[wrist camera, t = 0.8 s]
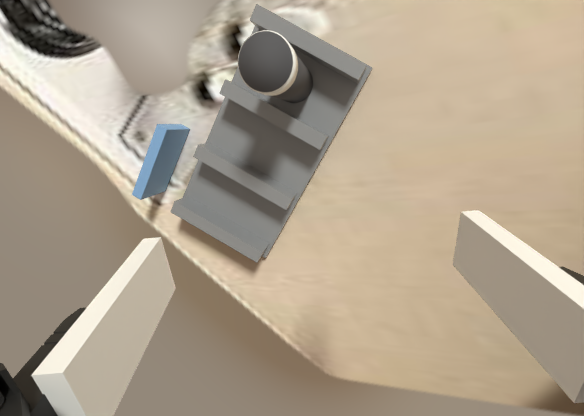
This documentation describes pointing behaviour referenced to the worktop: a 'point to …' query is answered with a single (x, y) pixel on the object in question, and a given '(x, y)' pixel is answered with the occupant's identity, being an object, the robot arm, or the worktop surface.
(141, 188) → the blue rectangular block
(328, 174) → the worktop surface
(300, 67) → the grey banded cylinder
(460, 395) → the worktop surface
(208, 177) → the grey slotted rack
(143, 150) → the worktop surface
